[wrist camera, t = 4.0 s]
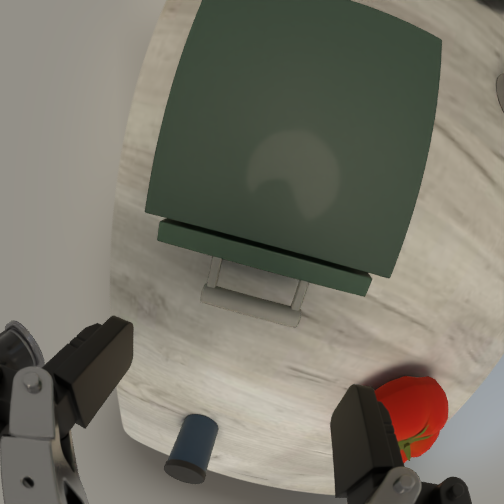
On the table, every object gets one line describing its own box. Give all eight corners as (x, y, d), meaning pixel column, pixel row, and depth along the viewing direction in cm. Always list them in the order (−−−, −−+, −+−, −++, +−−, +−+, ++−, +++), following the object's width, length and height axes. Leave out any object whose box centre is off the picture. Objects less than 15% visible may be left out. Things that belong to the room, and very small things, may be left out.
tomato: (365, 357, 27) (384, 415, 18) (450, 363, 26) (478, 408, 18) (327, 428, 30) (331, 480, 22) (405, 429, 30) (418, 473, 21)
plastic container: (182, 428, 34) (163, 475, 25) (185, 409, 32) (163, 460, 23) (216, 438, 33) (201, 487, 25) (221, 420, 32) (206, 474, 23)
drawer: (323, 303, 24) (335, 360, 16) (189, 266, 25) (149, 309, 17) (381, 103, 19) (424, 75, 11) (236, 64, 19) (210, 19, 11)
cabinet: (351, 235, 23) (390, 279, 14) (199, 194, 24) (144, 212, 14) (389, 81, 19) (442, 39, 9) (239, 41, 19) (211, -21, 10)
